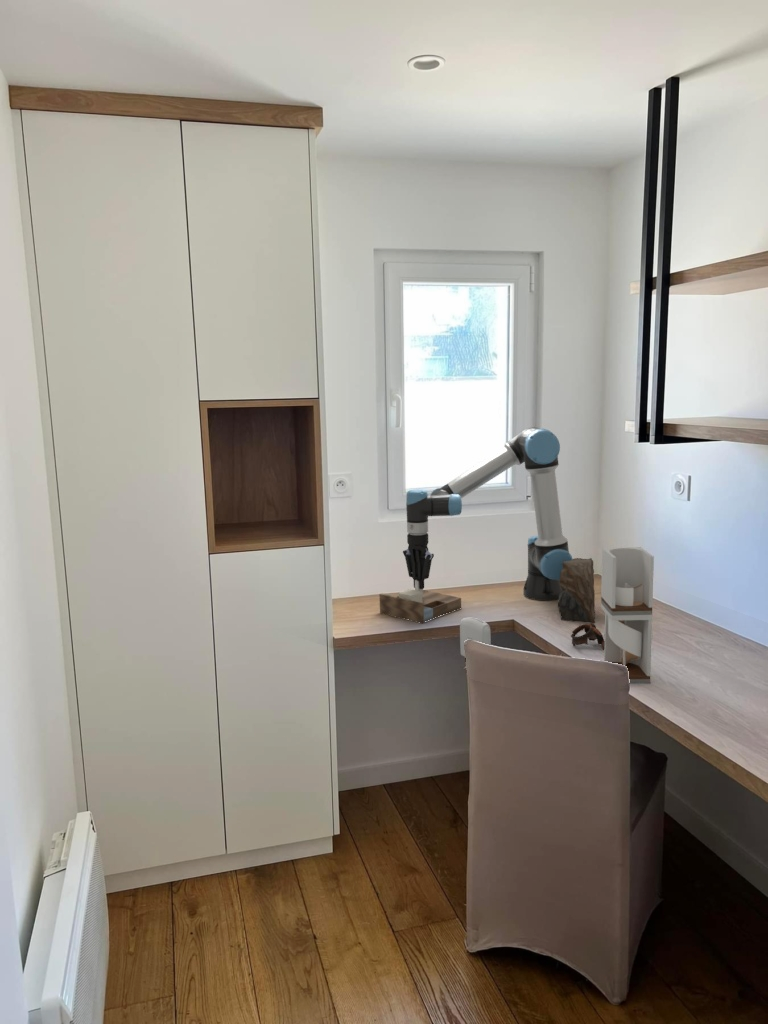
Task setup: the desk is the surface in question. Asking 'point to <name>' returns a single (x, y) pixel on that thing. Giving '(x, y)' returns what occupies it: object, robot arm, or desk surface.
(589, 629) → the brown curved openwork arch
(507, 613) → the desk surface
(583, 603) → the brown rock
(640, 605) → the curved two-tier shelf
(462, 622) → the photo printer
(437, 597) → the trap deck
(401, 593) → the cream block
